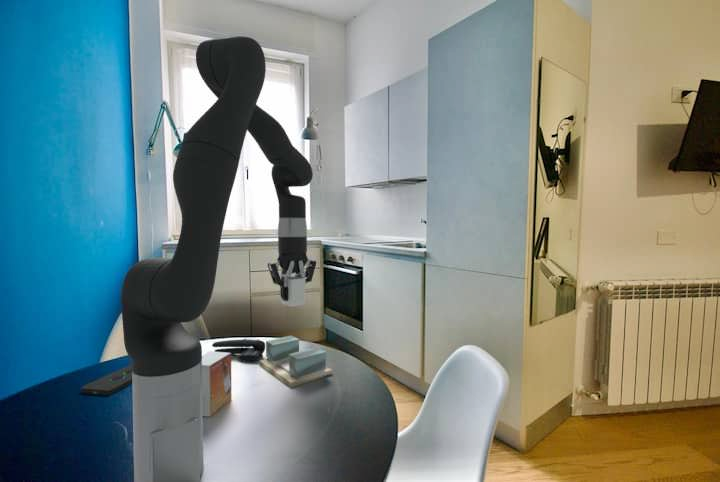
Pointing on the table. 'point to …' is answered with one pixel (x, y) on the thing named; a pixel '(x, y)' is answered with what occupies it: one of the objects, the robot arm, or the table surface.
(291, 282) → the block
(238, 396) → the table surface
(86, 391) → the smart home device
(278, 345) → the rail board
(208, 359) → the small box
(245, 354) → the can opener
